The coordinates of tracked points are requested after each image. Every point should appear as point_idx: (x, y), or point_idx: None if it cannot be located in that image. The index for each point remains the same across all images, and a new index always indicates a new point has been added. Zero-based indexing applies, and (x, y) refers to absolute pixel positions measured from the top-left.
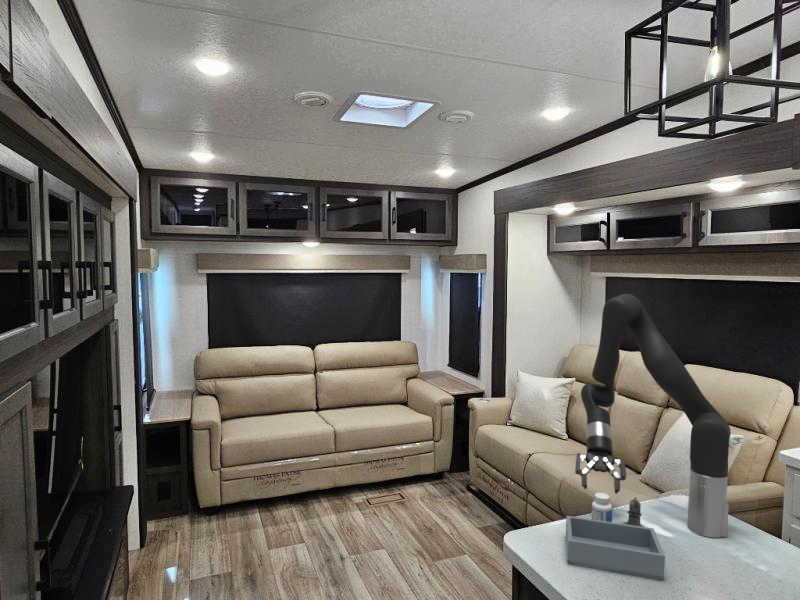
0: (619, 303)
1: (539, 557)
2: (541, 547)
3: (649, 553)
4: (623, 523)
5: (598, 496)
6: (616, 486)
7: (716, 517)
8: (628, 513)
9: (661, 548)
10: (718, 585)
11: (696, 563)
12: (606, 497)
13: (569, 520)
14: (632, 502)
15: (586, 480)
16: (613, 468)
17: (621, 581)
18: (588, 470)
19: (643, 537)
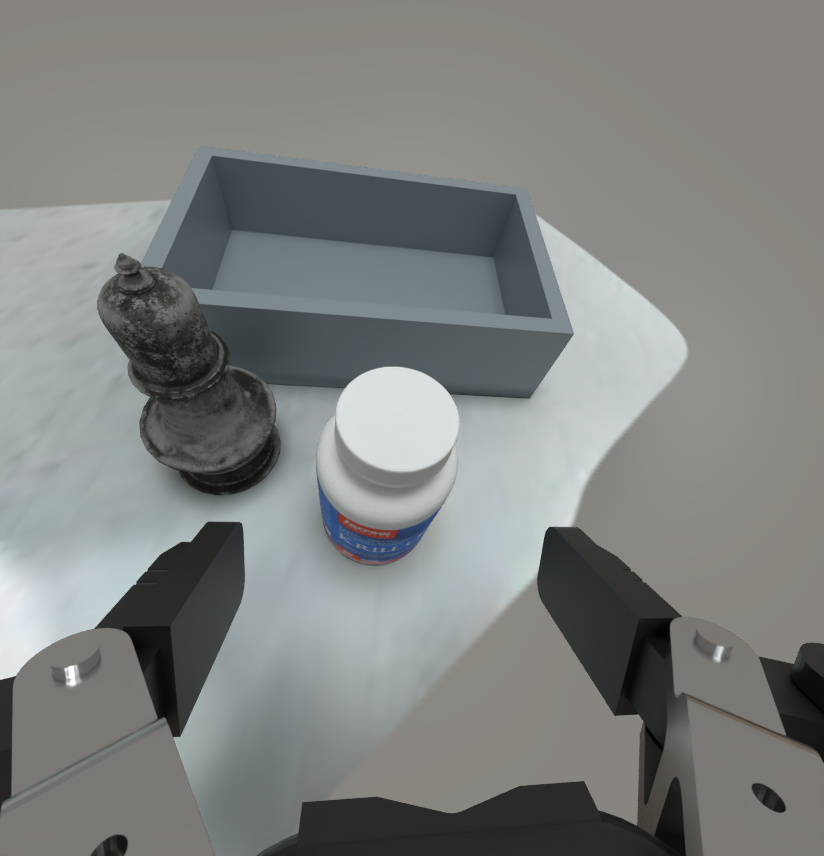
0: None
1: (577, 276)
2: (588, 319)
3: (253, 153)
4: (263, 434)
5: (431, 392)
6: (209, 541)
7: None
8: (228, 352)
9: (185, 176)
10: (34, 232)
11: (14, 327)
12: (366, 388)
13: (550, 297)
14: (175, 277)
15: (589, 561)
16: (48, 811)
17: None
18: (672, 685)
19: None
